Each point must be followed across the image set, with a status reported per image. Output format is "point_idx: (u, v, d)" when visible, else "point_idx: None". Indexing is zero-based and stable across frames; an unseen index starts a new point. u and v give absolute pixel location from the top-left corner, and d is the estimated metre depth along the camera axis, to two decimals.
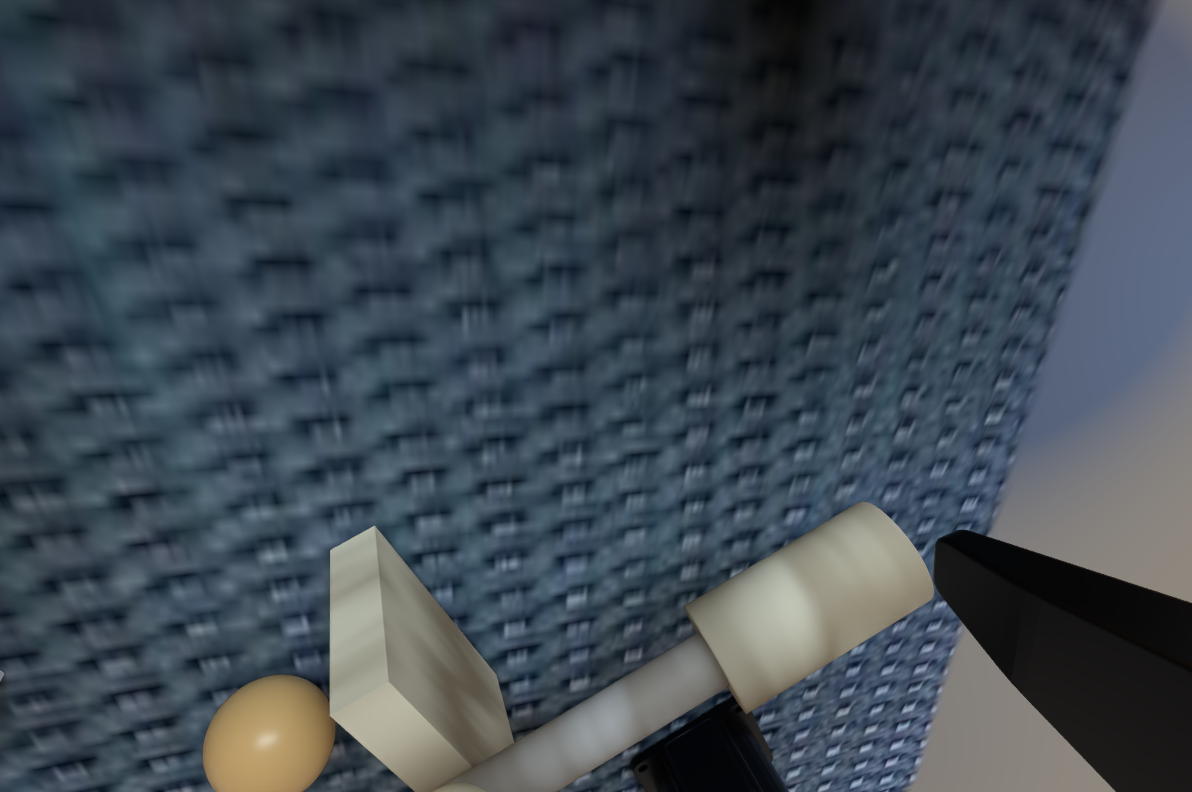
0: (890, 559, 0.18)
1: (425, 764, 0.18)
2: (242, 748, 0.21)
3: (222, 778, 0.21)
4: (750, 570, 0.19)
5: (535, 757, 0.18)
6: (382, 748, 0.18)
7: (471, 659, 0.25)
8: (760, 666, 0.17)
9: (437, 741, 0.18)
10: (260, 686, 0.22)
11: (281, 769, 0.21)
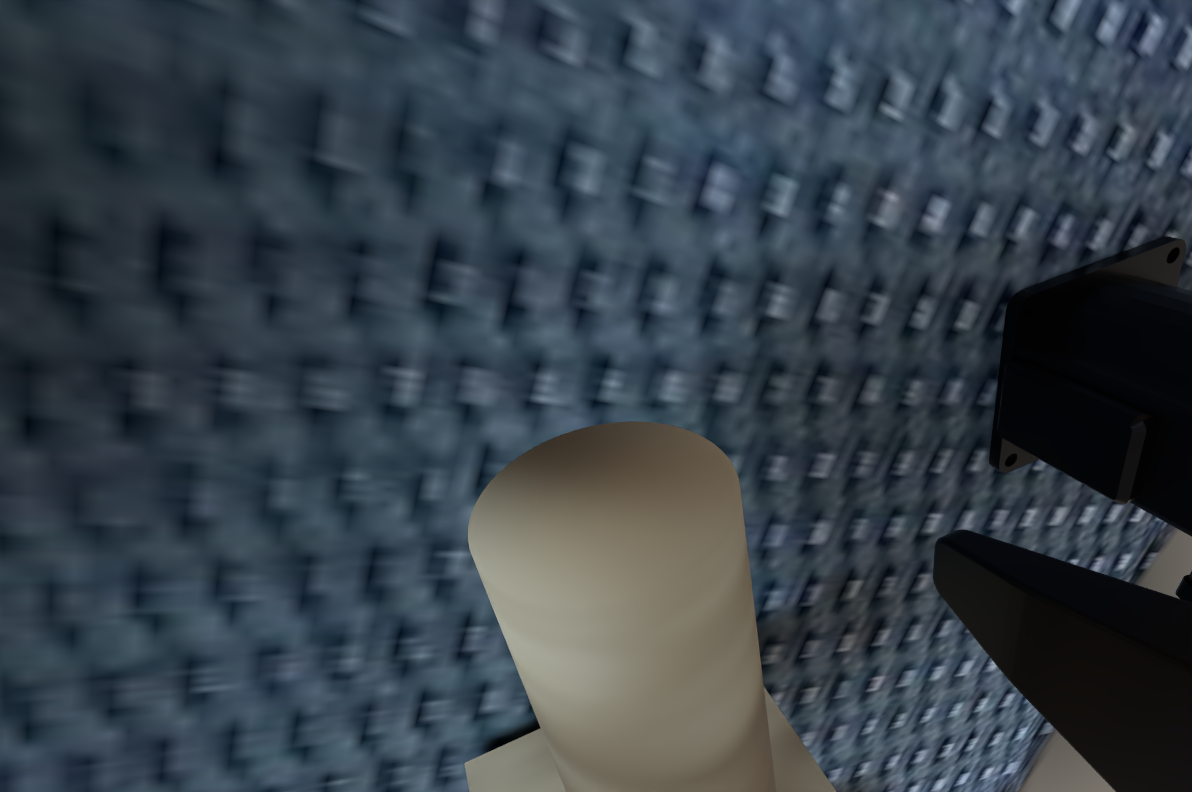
0: (541, 647, 0.07)
1: None
2: None
3: None
4: None
5: None
6: None
7: None
8: None
9: None
10: None
11: None
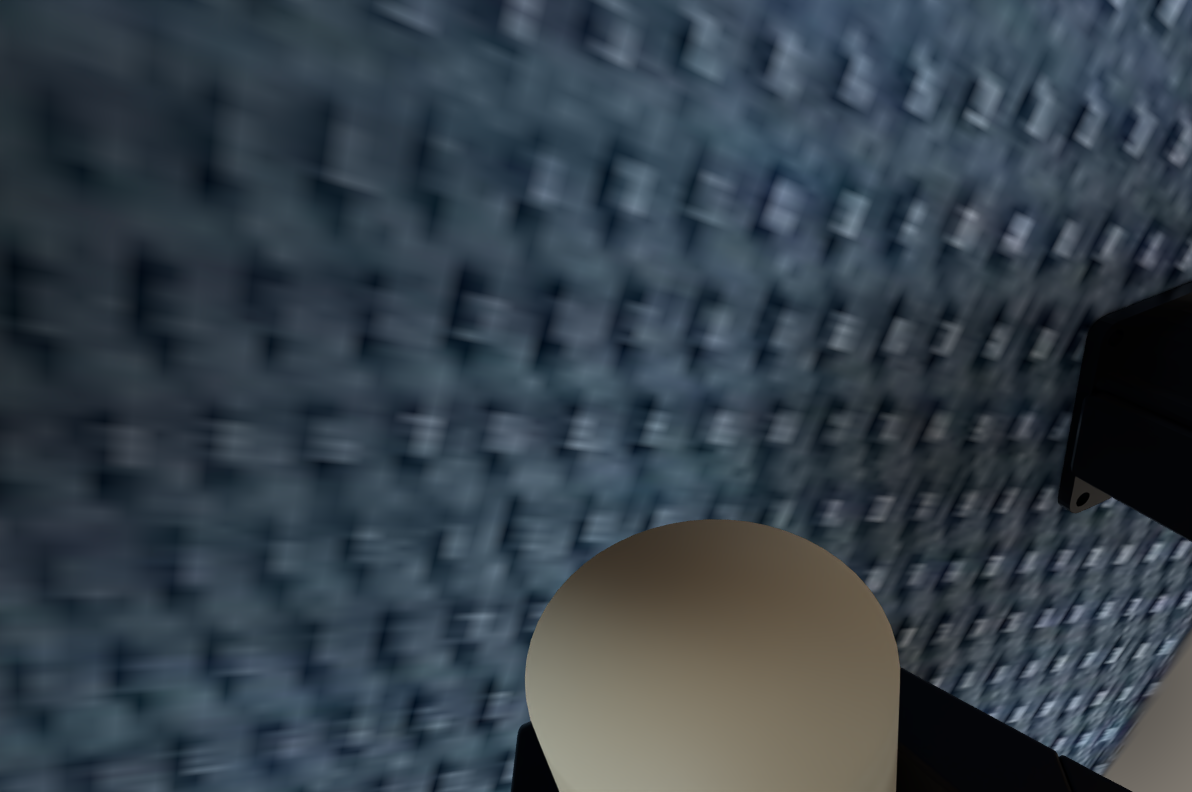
0: None
1: None
2: None
3: None
4: None
5: None
6: None
7: None
8: None
9: None
10: None
11: None
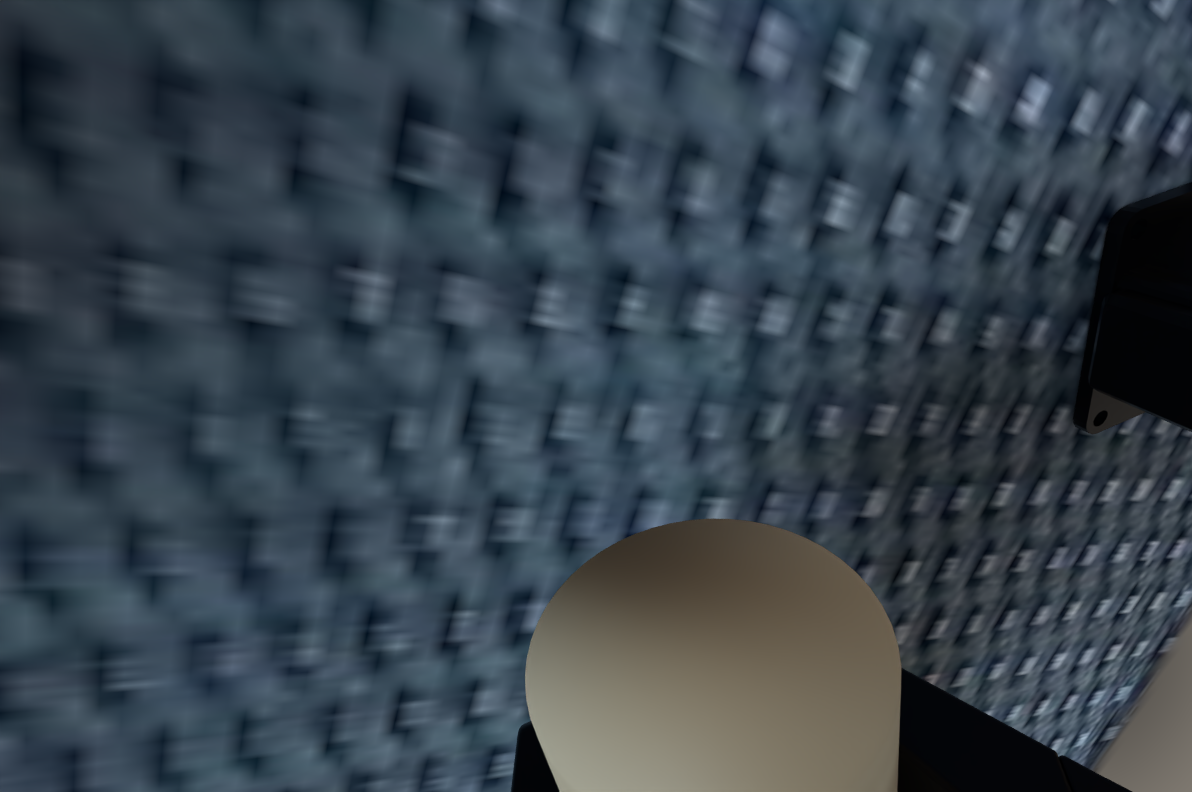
0: None
1: None
2: None
3: None
4: None
5: None
6: None
7: None
8: None
9: None
10: None
11: None
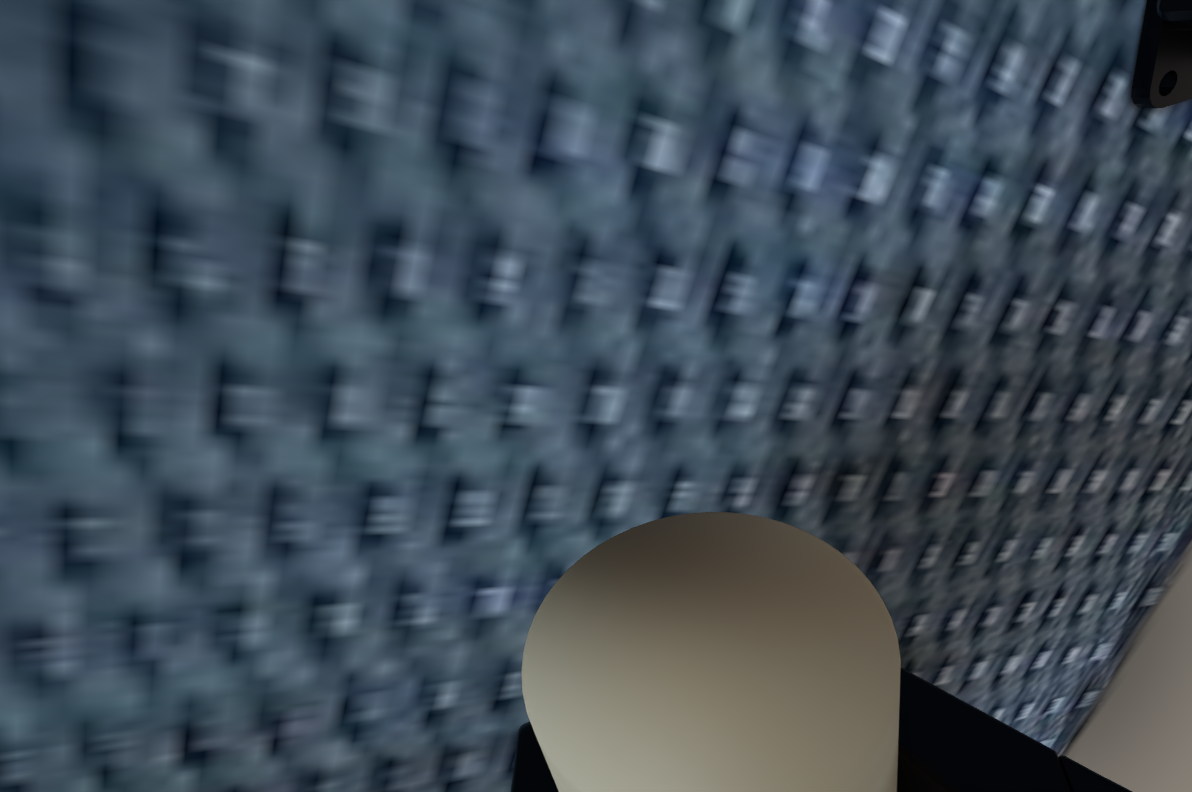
0: None
1: None
2: None
3: None
4: None
5: None
6: None
7: None
8: None
9: None
10: None
11: None
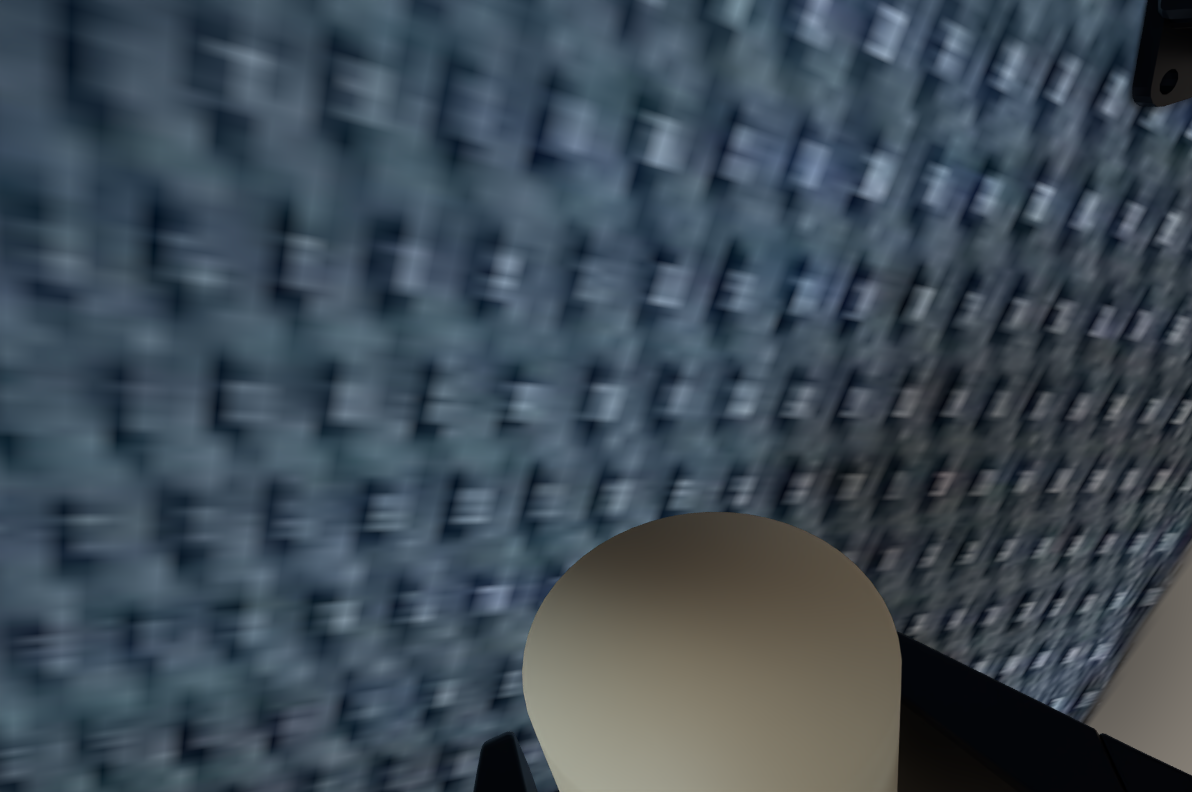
0: None
1: None
2: None
3: None
4: None
5: None
6: None
7: None
8: None
9: None
10: None
11: None
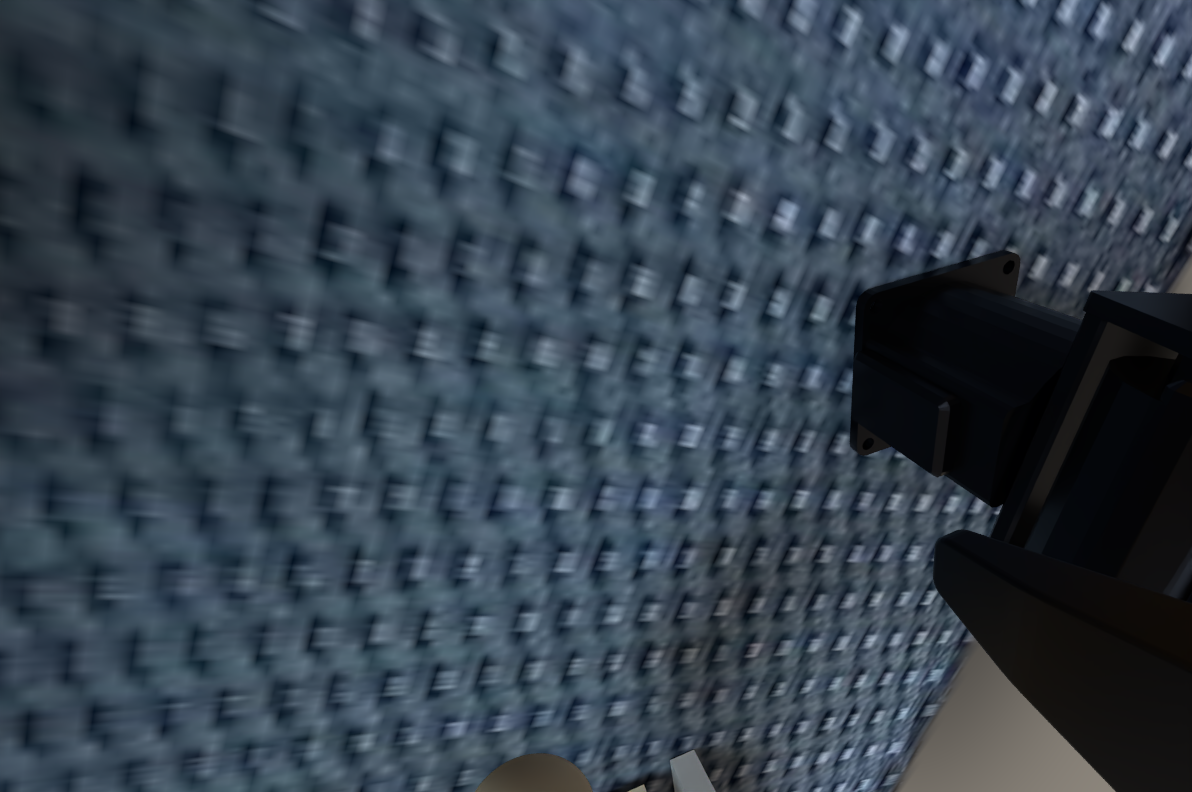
0: None
1: None
2: None
3: None
4: None
5: None
6: None
7: None
8: None
9: None
10: None
11: None
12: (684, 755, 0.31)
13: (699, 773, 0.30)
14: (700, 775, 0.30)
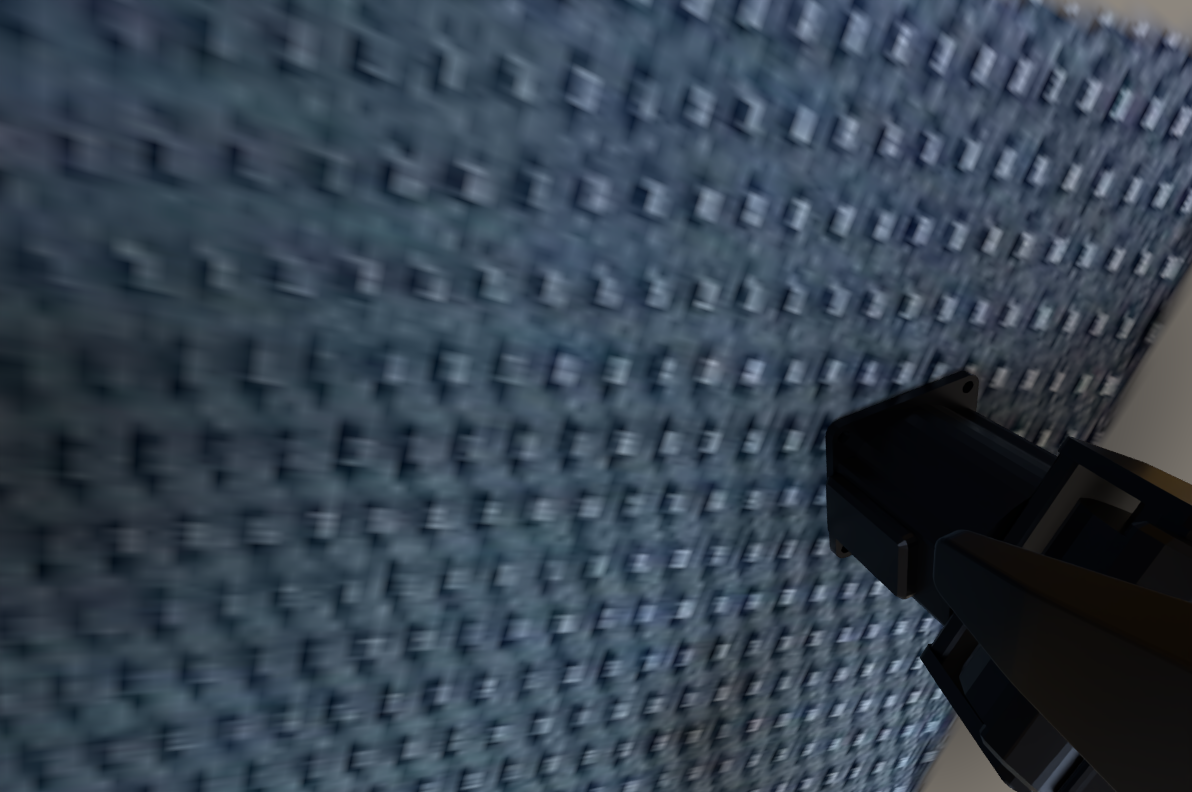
0: None
1: None
2: None
3: None
4: None
5: None
6: None
7: None
8: None
9: None
10: None
11: None
12: None
13: None
14: None
